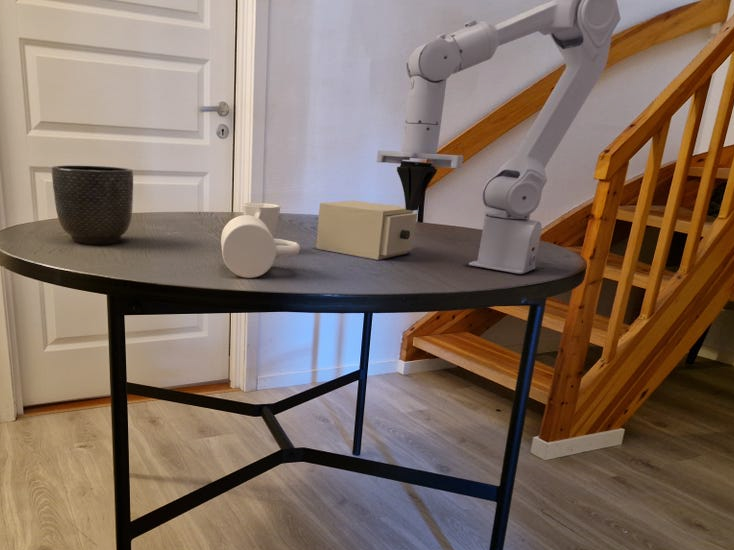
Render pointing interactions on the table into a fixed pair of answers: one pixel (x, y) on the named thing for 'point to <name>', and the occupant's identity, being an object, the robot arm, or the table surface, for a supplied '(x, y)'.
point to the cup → (263, 214)
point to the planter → (93, 202)
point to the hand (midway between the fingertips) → (411, 209)
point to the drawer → (398, 233)
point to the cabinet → (354, 227)
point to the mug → (252, 246)
